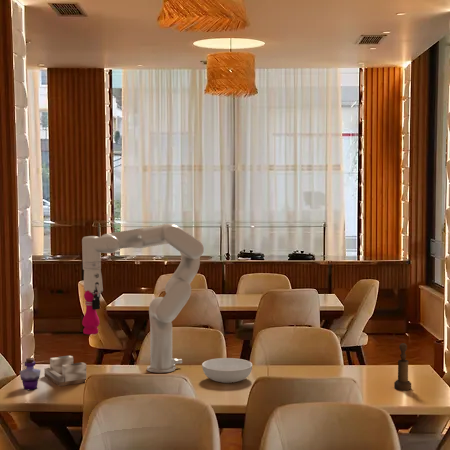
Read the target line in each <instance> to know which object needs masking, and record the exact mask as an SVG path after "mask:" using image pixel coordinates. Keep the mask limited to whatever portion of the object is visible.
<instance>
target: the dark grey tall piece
mask: <svg viewBox="0 0 450 450" xmlns="http://www.w3.org/2000/svg"><path fill="white" fill-rule="evenodd" d="M399 350H400V352H401V353H400V359H398V361H397V379H396V380H395V381H394V383H393V386H394V387H393V388H394V389H395V390H399V391H410V390H409V389H411V390H412V382H411V381H410V380H409V360H407V359H406V358H407V354H406V351H407V350H408V345H407V344H406V343H404V342H403V343H400V344H399Z"/></svg>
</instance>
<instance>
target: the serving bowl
mask: <svg viewBox="0 0 450 450" xmlns="http://www.w3.org/2000/svg"><path fill="white" fill-rule="evenodd" d="M201 367H202V371H203V374H204V375H205V376H206V377H207V378H208V379H210V380H212V381H215V382H219V383H223V384H230V383H232V382H233V383H236V382H240V381H244V380H245V379H247V378H248V377H249V376H250V375H251V373H252V370H253V363H252V362H251V361H250V360H246V359H242V358H234V357H219V358H211V359H208V360H205V361H204V362H202V363H201ZM233 383H232V384H233Z"/></svg>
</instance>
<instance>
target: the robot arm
mask: <svg viewBox="0 0 450 450" xmlns="http://www.w3.org/2000/svg"><path fill="white" fill-rule="evenodd" d="M167 244H169V246H171V247H172V248H174V249H176V250H177V251H179V253H180V256H181V257H180V258H181V259H180V263H179V265H178V266H177V268H176V269H175V271H174V272H173V274H172V275H171V276H170V278H169V279H168V281H167V282H166V283H165V286H164V291H165V295H164V296H158V297H155V298H154V299H152V300H151V302H150V304H149V306H148V314H149V316H148V317H149V327H150V328H149V329H150V330H149V331H150V333H149V334H150V336H149V337H150V338H149V340H150V344H149V346H150V350H149V351H150V352H149V353H150V365H147V366H146V370H147V371H148V372H151V373H156V374H158V373H159V374H161V373H162V374H163V373H164V374H165V373H170V372H174V371H176V370H175V369H177V366H176V365H177V364H183V359H182V358H173V323H172V322H173V321H174V320H175V319H176V318H177V316H178V315H179V314H180V312H181V311H182V309H183V308H184V307H185V305H186V304H187V303H188V301H189V299H190V297H191V295H192V285H191V283H192V282H193V280H194V279H195V277H196V275H197V274H198V271H199V269H200V265H201V259H200V257H202V256H203V254H204V245H203V243H202V242H201V241H200V240H198V239H197V238H196V237H194V236H193V235H192V234H189V232H186V231H185V230H184V229H182V228H181V227H180V226H178V225H177V224H172V223H165V224H159V225H154V226H147V227H140V228H134V229H129V230H122V231H116V232H110V233H109V232H108V233H103V234H102V235H101V236H96V235H88V236H83V237H82V239H81V246H82V248H81V249H82V250H81V251H82V252H81V253H82V255H81V256H82V270H83V290H84V292H86V291H87V290H88V291H89V292H90V293H92V296H93V300H92V309H93V310H95V309H96V310H100V308H101V294H102V293H103V291H104V288H103V275H102V270H101V269H102V255H101V253H102V254H103V253H104V254H114V253H116V252H117V251H118V250H120V249H127V248H128V249H129V248H134V249H144V248H150V247H156V246H162V245H167ZM94 291H97V292H94ZM94 294H96V295H94Z"/></svg>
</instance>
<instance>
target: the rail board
mask: <svg viewBox="0 0 450 450" xmlns="http://www.w3.org/2000/svg"><path fill="white" fill-rule="evenodd" d="M44 377H45V378H47V380H49V381H51V382H52V383H54V384H55V385H57V386H58V387H64V386H70V384H71V385H76V384H83V382H84V383H86V382H85V380H86V378H87V363H85V362H75V363H74V356H73V355H63V356H58V357H50V358H49V367H45V368H44Z"/></svg>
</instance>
